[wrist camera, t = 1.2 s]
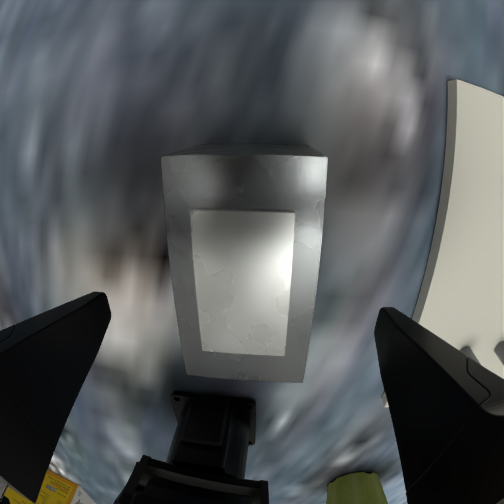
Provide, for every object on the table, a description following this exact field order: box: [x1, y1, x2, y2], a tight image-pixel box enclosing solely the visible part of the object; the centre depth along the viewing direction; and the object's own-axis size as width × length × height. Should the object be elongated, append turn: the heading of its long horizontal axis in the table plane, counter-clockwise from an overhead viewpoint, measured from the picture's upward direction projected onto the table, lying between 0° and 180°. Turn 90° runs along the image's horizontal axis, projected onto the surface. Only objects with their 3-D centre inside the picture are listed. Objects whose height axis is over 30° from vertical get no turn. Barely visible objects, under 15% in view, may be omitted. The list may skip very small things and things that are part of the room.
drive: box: [161, 144, 328, 383], centre depth 13 cm, size 9×5×6 cm, turn 0°
